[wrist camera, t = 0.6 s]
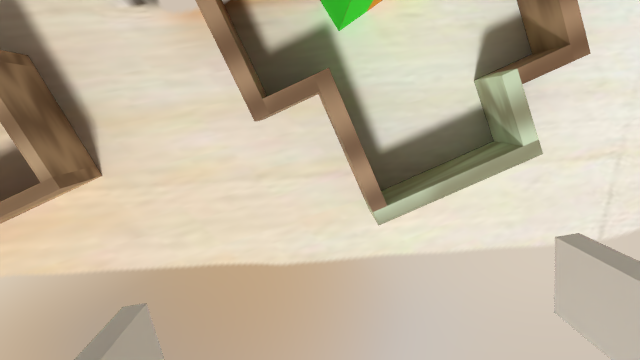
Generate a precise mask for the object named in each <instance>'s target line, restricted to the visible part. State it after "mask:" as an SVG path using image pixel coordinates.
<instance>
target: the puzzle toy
mask: <svg viewBox="0 0 640 360" xmlns="http://www.w3.org/2000/svg"><path fill="white" fill-rule="evenodd" d="M320 1H321V3H322V4H323V6H324V7H325V9H326V11H327V12H328V14H329V16H330V17H331V19H332V21H333V22H334V24H335V25H336V27H337V29H338V30H339V31H340V30H341V29H343V28H344V27H346V26H347V25H348V24H350V23H351V22H353V21H354V20H355V19H357V18H358V17H360V16H361V15H362V14H364V13H365V12H367V11H368V10H369V9H371V8H372V7H374V6H375V5H376V4H378V3H379V2H381V1H382V0H320Z"/></svg>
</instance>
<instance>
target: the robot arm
mask: <svg viewBox="0 0 640 360" xmlns="http://www.w3.org/2000/svg"><path fill="white" fill-rule="evenodd" d="M554 302H555V303H554V304H555V305H554V307H555V308H554V312H555V313H556V314H557V315H558V316H559V317H560V318H562V319H563V320H564V321H565V322H566V323H568V324H569V325H570V326H571V327H572V328H574V329H575V330H576V331H577V332H578V333H580V334H581V335H582V336H583V337H584V338H586V339H587V340H588V341H589V342H591V343H592V344H593V345H594V346H595V347H597V348H598V349H599V350H600V351H601V352H603V353H604V354H605V355H606V356H607V357H609V358H610V359H611V360H640V261H638V260H635V259H633V258H631V257H629V256H627V255H625V254H622V253H620V252H618V251H616V250H614V249H612V248H610V247H607V246H605V245H603V244H601V243H599V242H597V241H595V240H592V239H590V238H588V237H586V236H584V235H582V234H579V233H577V234H571V235H565V236H559V237H555V297H554ZM74 360H164V357H163V354H162V351H161V348H160V344H159V341H158V338H157V335H156V332H155V328H154V325H153V322H152V319H151V316H150V312H149V309H148V306H147V303H144V304H138V305H132V306H125V307H122V308H121V309H120V310H119V311H118V313H117V314H116V315H115V316H114V317H113V318H112V319H111V320H110V322H108V323H107V325H106V326H105V327H104V328H103V329H102V330H101V331H100V332H99V333H98V334H97V335H96V336H95V338H94V339H93V340H92V341H91V342H90V343H89V344H88V345H87V346H86V347H85V348H84V350H83V351H82V352H81V353H80V354H79V355H78V356H77V357H76V358H75V359H74Z"/></svg>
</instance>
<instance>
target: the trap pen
mask: <svg viewBox="0 0 640 360" xmlns="http://www.w3.org/2000/svg"><path fill="white" fill-rule="evenodd" d="M196 2H197V4H198V6H199V8H200V10H201V12H202V15H203V17H204V19H205V21H206V23H207V25H208V27H209V29H210V31H211V33H212V35H213V37H214V39H215V41H216V43H217V45H218V47H219V49H220V51H221V53H222V55H223V57H224V59H225V61H226V64H227V66H228V68H229V70H230V72H231V74H232V76H233V78H234V80H235V82H236V84H237V86H238V88H239V90H240V92H241V94H242V96H243V98H244V100H245V102H246V104H247V106H248V108H249V110H250V113H251V115H252V117H253V119H254V121H260V120H263V119H266V118H268V117H270V116H272V115H274V114H276V113H278V112H281V111H283V110H285V109H287V108H289V107H291V106H294V105H296V104H298V103H300V102H302V101H304V100H306V99H309V98H311V97H313V96H315V95H317V94H319V96H320V98H321V101H322V103H323V105H324V107H325V110H326V112H327V114H328V117H329V119H330V121H331V123H332V126H333V128H334V130H335V133H336V135H337V137H338V139H339V142H340V144H341V146H342V149H343V151H344V153H345V155H346V158H347V160H348V162H349V165H350V167H351V169H352V171H353V174H354V176H355V178H356V181H357V183H358V185H359V187H360V190H361V192H362V194H363V197H364V199H365V201H366V203H367V206H368V208H369V210H370V212H371V213H372V215H373V217H374V218H375V220H376V222H377V223H378V225H381V224H383V223H386V222H388V221H390V220H392V219H395V218H397V217H399V216H402V215H404V214H406V213H408V212H411V211H413V210H415V209H418V208H420V207H422V206H425V205H427V204H429V203H431V202H434V201H436V200H438V199H441V198H443V197H445V196H447V195H450V194H452V193H454V192H457V191H459V190H461V189H463V188H466V187H468V186H470V185H473V184H475V183H477V182H480V181H482V180H484V179H486V178H489V177H491V176H493V175H496V174H498V173H500V172H502V171H505V170H507V169H509V168H512V167H514V166H516V165H519V164H521V163H523V162H525V161H528V160H530V159H532V158H535V157H537V156H539V155H541V154H543V153H542V149H541V146H540V143H539V139H538V136H537V132H536V129H535V126H534V122H533V119H532V116H531V112H530V109H529V106H528V102H527V99H526V96H525V92H524V89H523V86H522V84H524V83H526V82H528V81H530V80H533V79H535V78H537V77H539V76H542V75H544V74H546V73H548V72H550V71H553V70H555V69H557V68H559V67H562V66H564V65H566V64H568V63H570V62H573V61H575V60H577V59H579V58H582V57H584V56H586V55H588V54H590V49H589V45H588V41H587V37H586V33H585V29H584V25H583V21H582V17H581V13H580V9H579V5H578V1H577V0H517V2H518V6H519V9H520V13H521V16H522V20H523V23H524V27H525V30H526V34H527V37H528V41H529V44H530V48H531V51H532V54H531V55H529V56H527V57H525V58H523V59H520V60H518V61H516V62H514V63H512V64H509V65H507V66H505V67H503V68H501V69H498V70H496V71H494V72H492V73H490V74H487V75H485V76H483V77H481V78H479V79H476V80H474V82H475V85H476V88H477V91H478V94H479V98H480V101H481V104H482V107H483V110H484V113H485V116H486V119H487V122H488V125H489V128H490V131H491V134H492V137H493V140H494V141H493V142H491V143H489V144H487V145H484V146H482V147H480V148H478V149H475V150H473V151H471V152H468V153H466V154H464V155H462V156H459V157H457V158H455V159H453V160H450V161H448V162H446V163H444V164H441V165H439V166H437V167H435V168H432V169H430V170H428V171H426V172H423V173H421V174H419V175H416V176H414V177H412V178H410V179H407V180H405V181H403V182H401V183H398V184H396V185H394V186H392V187H389V188H387V189H385V190H383V191H381V190H380V188H379V185H378V183H377V181H376V178H375V176H374V173H373V171H372V169H371V166H370V164H369V162H368V159H367V157H366V155H365V152H364V150H363V147H362V145H361V143H360V140H359V138H358V136H357V133H356V131H355V129H354V126H353V124H352V121H351V119H350V117H349V114H348V112H347V110H346V107H345V105H344V103H343V100H342V98H341V96H340V93H339V91H338V88H337V86H336V84H335V81H334V79H333V77H332V74H331V72H330V70H329V68H327V69H325V70H323V71H321V72H318V73H316V74H314V75H312V76H310V77H308V78H306V79H304V80H301V81H299V82H297V83H295V84H293V85H291V86H289V87H287V88H284V89H282V90H280V91H278V92H276V93H274V94H272V95H270V96H267V95H266V93H265V91H264V89H263V87H262V85H261V83H260V80H259V78H258V76H257V74H256V72H255V70H254V68H253V66H252V64H251V61H250V59H249V57H248V55H247V53H246V51H245V49H244V47H243V44H242V42H241V40H240V38H239V36H238V34H237V32H236V30H235V28H234V25H233V23H232V21H231V19H230V17H229V15H228V13H227V11H226V9H225V6H224V4H223V2H222V0H196Z"/></svg>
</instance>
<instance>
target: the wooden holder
mask: <svg viewBox="0 0 640 360" xmlns="http://www.w3.org/2000/svg"><path fill="white" fill-rule="evenodd" d="M0 122H1V124H2V125H3V127H4V128H5V130H6V131H7V133H8V134H9V136H10V137H11V139H12V140H13V142H14V143H15V145H16V146H17V148H18V149H19V151H20V152H21V154H22V155H23V157H24V158H25V160H26V161H27V163H28V164H29V166H30V167H31V169H32V170H33V172H34V173H35V175H36V176H37V178H38V179H39V181H40V182H41V183H39V184H37V185H34V186H32V187H30V188H28V189H26V190H24V191H22V192H20V193H18V194H15V195H13V196H11V197H9V198H7V199H5V200H3V201H1V202H0V223H3V222H5V221H7V220H9V219H11V218H13V217H15V216H17V215H20V214H22V213H24V212H26V211H28V210H30V209H32V208H34V207H37V206H39V205H41V204H43V203H45V202H47V201H49V200H52V199H54V198H56V197H58V196H60V195H62V194H64V193H66V192H69V191H71V190H73V189H75V188H77V187H79V186H81V185H83V184H86V183H88V182H90V181H92V180H94V179H96V178H98V177H100V176H102V175H101V173H100V172H99V170H98V168H97V167H96V165H95V164H94V162H93V160H92V159H91V157H90V156H89V154H88V152H87V151H86V149H85V147H84V146H83V144H82V143H81V141H80V139H79V138H78V136H77V134H76V133H75V131H74V130H73V128H72V126H71V125H70V123H69V122H68V120H67V118H66V117H65V115H64V113H63V112H62V110H61V109H60V107H59V105H58V104H57V102H56V100H55V99H54V97H53V96H52V94H51V92H50V91H49V89H48V88H47V86H46V84H45V83H44V81H43V79H42V78H41V76H40V75H39V73H38V71H37V70H36V68H35V66H34V65H33V63H32V62H31V60H30V58H29V57H28V55H23V54H18V53H13V52H8V51H3V50H0Z"/></svg>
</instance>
